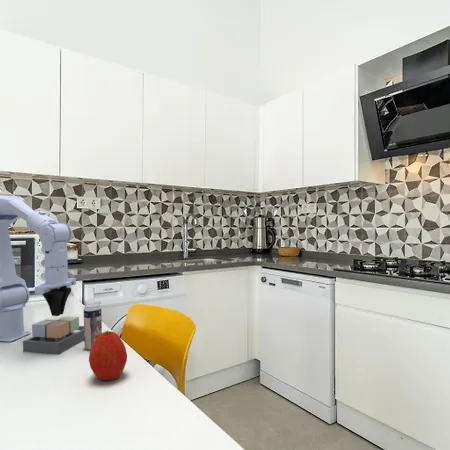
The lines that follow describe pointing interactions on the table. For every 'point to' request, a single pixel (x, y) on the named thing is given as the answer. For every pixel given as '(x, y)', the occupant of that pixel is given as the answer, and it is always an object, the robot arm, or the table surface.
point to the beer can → (92, 324)
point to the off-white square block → (54, 318)
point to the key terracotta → (57, 329)
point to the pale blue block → (40, 328)
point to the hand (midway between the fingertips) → (57, 314)
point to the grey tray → (53, 343)
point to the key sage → (71, 323)
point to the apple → (108, 356)
